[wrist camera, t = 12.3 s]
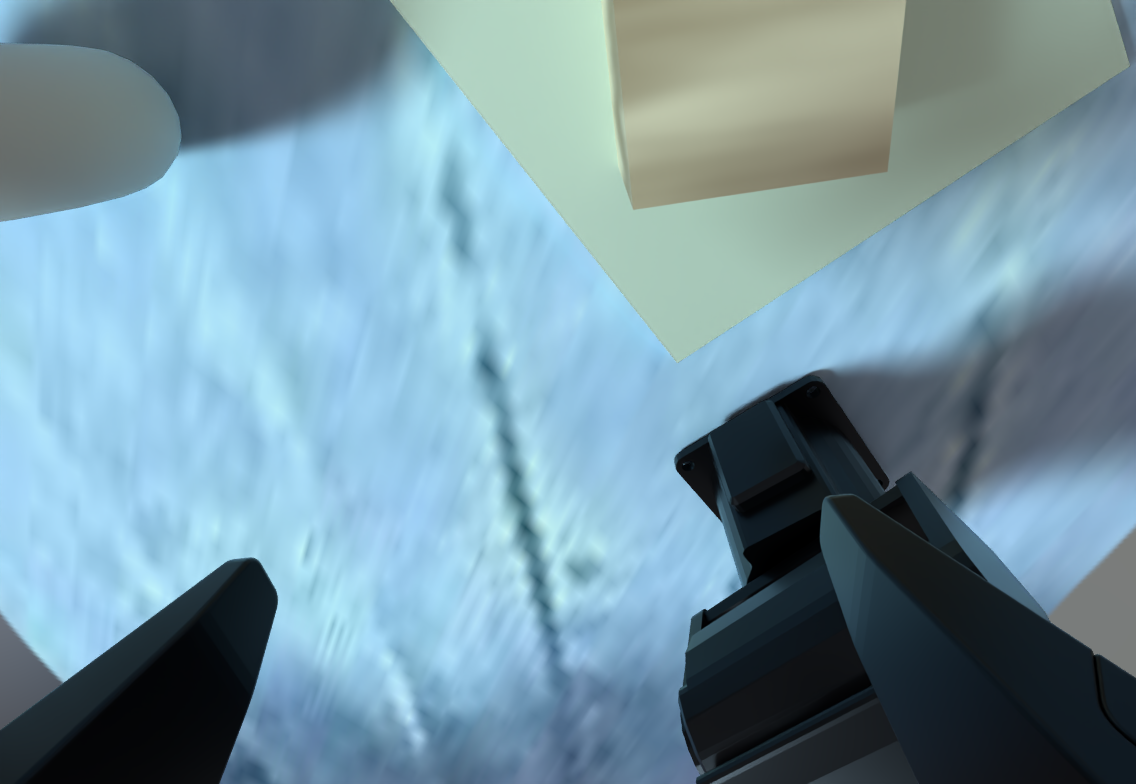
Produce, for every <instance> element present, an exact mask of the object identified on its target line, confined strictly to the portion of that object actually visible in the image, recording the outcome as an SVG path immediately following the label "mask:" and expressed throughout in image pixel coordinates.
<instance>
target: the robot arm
mask: <svg viewBox="0 0 1136 784" xmlns="http://www.w3.org/2000/svg"><path fill="white" fill-rule="evenodd" d="M811 387H816V390H814V391H813V392H811V393H807V390H808V389H809V388H811ZM686 461H692V463H691V464H689V465H683V463H684V462H686ZM674 463H675V467H676V470H677V472H678V473H679V474H680V475H681V476H682V477H683V479H684V480H685V481H686V482H687V483H688V484H689V485H690V487H691V488H692V489H693V490H694V491H695V492H696V493H697V495H698V496H699V497H700V498H701V499H702V500H703V501H704V502H705V504H706V505H707V506H708V507H709V508H710V509H711V510H712V512H713V513H714V514H715V515H716V516H717V517H718V518H719V520H720V521H721V522H722V523H723V526H724V529H725V532H726V536H727V539H728V542H729V545H730V549H731V552H732V555H733V558H734V562H735V565H736V568H737V571H738V575H739V578H740V581H741V585H742V588H741V589H739V590H738V591H736V592H735V593H733V594H732V595H730V596H729V597H727V598H726V599H724V600H723V601H721V602H720V603H718V604H717V605H715V606H714V607H712V608H711V609H709V610H708V611H707V610H706V609H703V610H702V611H700V612H699V613H697V614H696V615H694V616H693V617H692V618H691V626H690V634H689V642H688V648H687V650H686V653H685V655H686V665H685V673H684V681H683V687H681V688H680V690H679V698H678V703H679V707H680V711H681V713H680V717H681V723H682V732H683V735H684V737H685V740H686V744H687V747H688V750H689V752H690V755H691V757H692V759H693V762H694V764H695V766H696V768H697V770H698V772H699V774H700V776H698V777H697V779H696V784H1136V678H1135V677H1134V676H1132V675H1131V674H1129V673H1127V672H1126V671H1124V670H1123V669H1121V668H1120V667H1118V666H1117V665H1115V664H1114V663H1112V662H1111V661H1109V660H1108V659H1106V658H1105V657H1103V656H1102V655H1098V654H1096V655H1094V654H1093V651H1092V650H1091V649H1090V648H1089V647H1087V646H1086V645H1084V644H1083V643H1081V642H1080V641H1078V640H1077V639H1075V638H1073V637H1072V636H1071V635H1069V634H1068V633H1066V632H1064V631H1063V630H1061V629H1060V628H1058V627H1056V626H1055V625H1054V624H1052V623H1051V622H1050V620H1049V618H1048V616H1047V615H1046V613H1045V611H1044V610H1043V609H1042V607H1041V606H1040V605H1039V604H1038V603H1037V602H1036V600H1035V599H1034V598H1033V597H1032V596H1031V595H1030V593H1029V592H1028V591H1027V590H1026V589H1025V588H1024V587H1023V585H1022V584H1021V583H1020V582H1019V581H1018V580H1017V578H1016V577H1015V576H1014V575H1013V574H1012V573H1011V572H1010V570H1009V569H1008V568H1007V567H1006V566H1005V565H1004V563H1003V562H1002V561H1001V560H1000V559H999V558H998V556H997V555H996V554H995V553H994V552H993V551H992V550H991V549H990V548H989V547H988V546H987V545H986V544H985V543H984V542H983V541H982V540H981V539H980V538H979V537H978V536H977V535H976V534H975V533H974V532H973V531H972V530H971V529H970V528H969V527H968V526H967V525H966V524H965V523H964V522H963V521H962V520H961V519H960V518H958V517H957V516H956V515H955V514H954V513H953V512H952V511H951V510H950V509H949V508H948V507H947V506H946V505H945V504H944V503H943V502H942V501H941V500H940V499H939V498H938V497H937V496H936V495H935V494H934V493H933V492H932V491H931V490H930V489H929V488H928V487H927V486H926V485H924V484H923V483H922V482H921V481H920V480H919V479H918V478H917V477H916V476H915V475H914V474H913V473H912V472H909V473H908V474H906V475H905V476H903V477H902V478H900V479H899V480H897V481H896V482H895V483H896V486H895V487H893V488H892V489H890V490H889V491H887V492H885V491H884V490H885V489H886V488H887V487H888V485H889V479H888V477H887V476H886V474H885V473H884V471H883V470H882V468H881V467H880V465H879V464H878V462H877V461H876V459H875V458H874V456H873V455H872V453H871V452H870V451H869V449H868V448H867V446H866V445H865V443H864V442H863V440H862V439H861V437H860V436H859V434H858V433H857V431H856V430H855V428H854V427H853V425H852V424H851V422H850V421H849V419H848V418H847V416H846V415H845V413H844V412H843V410H842V409H841V407H840V406H839V404H838V403H837V401H836V400H835V398H834V397H833V395H832V394H831V392H830V391H829V389H828V388H827V386H826V385H825V384H824V382H823V381H822V380H821V379H820V378H819V377H817V376H807V377H805V378H803V379H801V380H799V381H798V382H796V383H794V384H793V385H791V386H789V387H788V388H786V389H784V390H783V391H781V392H779V393H778V394H776V395H774V396H773V397H771V398H769V399H768V400H766V401H762V402H760V403H759V404H757V405H755V406H754V407H752V408H750V409H749V410H747V411H745V412H744V413H742V414H740V415H739V416H737V417H735V418H734V419H732V420H730V421H729V422H727V423H725V424H724V425H722V426H720V427H719V428H717V429H715V430H714V431H712V432H711V433H710V434H709V435H707V436H706V437H704V438H702V439H701V440H699V441H697V442H696V443H694V444H692V445H691V446H689V447H687V448H686V449H684V450H682V451H681V452H679V453H678V454H677V455H676V457H675V459H674ZM877 479H878V480H877ZM277 605H278V596H277V592H276V589H275V587H274V586H273V584H272V582H271V580H270V579H269V577H268V575H267V573H266V572H265V570H264V568H263V566H262V565H261V563H260V562H259V561H258V560H257V559H255V558H241V559H233V560H229V561H227V562H226V563H224V564H223V565H221V566H220V567H219V568H217V569H216V570H215V571H213V572H212V573H211V574H209V575H208V576H207V577H205V578H204V579H203V580H201V581H200V582H199V583H197V584H196V585H195V586H193V587H192V588H190V589H189V590H188V591H186V592H185V593H184V594H182V595H181V596H180V597H178V598H177V599H176V600H174V601H173V602H172V603H170V604H169V605H168V606H166V607H165V608H164V609H162V610H161V611H160V612H158V613H157V614H156V615H154V616H153V617H152V618H150V619H149V620H147V621H146V622H145V623H143V624H142V625H141V626H139V627H138V628H137V629H135V630H134V631H133V632H131V633H130V634H129V635H127V636H126V637H125V638H123V639H122V640H121V641H119V642H118V643H117V644H115V645H114V646H113V647H111V648H110V649H108V650H107V651H106V652H104V653H103V654H102V655H100V656H99V657H98V658H96V659H95V660H94V661H92V662H91V663H90V664H88V665H87V666H86V667H84V668H83V669H82V670H80V671H79V672H78V673H76V674H75V675H74V676H72V677H71V678H69V679H68V680H67V681H65V682H64V683H63V684H61V685H60V686H59V687H57V688H56V689H55V690H53V691H52V692H51V693H49V694H48V695H47V696H45V697H44V698H43V699H41V700H40V701H39V702H37V703H36V704H35V705H33V706H32V707H31V708H29V709H28V710H26V711H25V712H24V713H22V714H21V715H20V716H18V717H17V718H16V719H14V720H13V721H12V722H10V723H9V724H8V725H6V726H5V727H4V728H2V729H1V730H0V784H219V783H220V781H221V778H222V775H223V773H224V770H225V768H226V765H227V762H228V760H229V757H230V755H231V752H232V749H233V747H234V744H235V741H236V739H237V736H238V734H239V731H240V728H241V726H242V723H243V721H244V718H245V715H246V713H247V710H248V707H249V704H250V701H251V699H252V695H253V692H254V689H255V686H256V682H257V679H258V675H259V671H260V668H261V664H262V661H263V657H264V653H265V650H266V646H267V642H268V639H269V635H270V631H271V628H272V624H273V621H274V617H275V613H276V610H277Z"/></svg>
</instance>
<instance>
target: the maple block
mask: <svg viewBox="0 0 1136 784" xmlns="http://www.w3.org/2000/svg"><path fill="white" fill-rule="evenodd" d="M601 5H602V15H603V24H604V34H605V44H606V53H607V63H608V72H609V82H610V92H611V101H612V111H613V121H614V130H615V140H616V150H617V159H618V168H619V170H620V173H621V176H622V179H623V182H624V185H625V188H626V191H627V194H628V197H629V199H630V202H631V205H632V208H633V210H636V209H643V208H650V207H656V206H663V205H670V204H676V203H683V202H690V201H696V200H703V199H710V198H716V197H723V196H730V195H736V194H743V193H750V192H757V191H763V190H770V189H777V188H783V187H790V186H797V185H803V184H810V183H817V182H823V181H830V180H837V179H843V178H850V177H857V176H863V175H870V174H877V173H883V172H888V163H889V154H890V145H891V136H892V126H893V117H894V108H895V99H896V90H897V81H898V72H899V63H900V53H901V44H902V35H903V26H904V17H905V8H906V0H601Z"/></svg>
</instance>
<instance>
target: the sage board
mask: <svg viewBox="0 0 1136 784" xmlns="http://www.w3.org/2000/svg"><path fill="white" fill-rule="evenodd" d="M390 1H391V3H392V4H393V5H394V7H395V8H396V9H397V10H398V12H399V13H400V14H401V15H402V17H403V18H404V19H405V20H406V22H407V23H408V24H409V25H410V27H411V28H412V29H413V30H414V32H415V33H416V34H417V36H418V37H419V38H420V39H421V41H422V42H423V43H424V44H425V46H426V47H427V48H428V49H429V51H430V52H431V53H432V54H433V56H434V57H435V58H436V60H437V61H438V62H439V63H440V65H441V66H442V67H443V68H444V70H445V71H446V72H447V73H448V75H449V76H450V77H451V78H452V80H453V81H454V82H455V83H456V85H457V86H458V87H459V89H460V90H461V91H462V92H463V94H464V95H465V96H466V97H467V99H468V100H469V101H470V102H471V104H472V105H473V106H474V107H475V109H476V110H477V111H478V112H479V114H480V115H481V116H482V118H483V119H484V120H485V121H486V123H487V124H488V125H489V126H490V128H491V129H492V130H493V131H494V133H495V134H496V135H497V136H498V138H499V139H500V140H501V141H502V143H503V144H504V145H505V147H506V148H507V149H508V150H509V152H510V153H511V154H512V155H513V157H514V158H515V159H516V160H517V162H518V163H519V164H520V165H521V167H522V168H523V169H524V170H525V172H526V173H527V174H528V176H529V177H530V178H531V179H532V181H533V182H534V183H535V184H536V186H537V187H538V188H539V189H540V191H541V192H542V193H543V194H544V196H545V197H546V198H547V199H548V201H549V202H550V203H551V205H552V206H553V207H554V208H555V210H556V211H557V212H558V213H559V215H560V216H561V217H562V218H563V220H564V221H565V222H566V223H567V225H568V226H569V227H570V229H571V230H572V231H573V232H574V234H575V235H576V236H577V237H578V239H579V240H580V241H581V242H582V244H583V245H584V246H585V247H586V249H587V250H588V251H589V252H590V254H591V255H592V256H593V258H594V259H595V260H596V261H597V263H598V264H599V265H600V266H601V268H602V269H603V270H604V271H605V273H606V274H607V275H608V276H609V278H610V279H611V280H612V281H613V283H614V284H615V285H616V287H617V288H618V289H619V290H620V292H621V293H622V294H623V295H624V297H625V298H626V299H627V300H628V302H629V303H630V304H631V305H632V307H633V308H634V309H635V310H636V312H637V313H638V314H639V316H640V317H641V318H642V319H643V321H644V322H645V323H646V324H647V326H648V327H649V328H650V329H651V331H652V332H653V333H654V334H655V336H656V337H657V338H658V339H659V341H660V342H661V343H662V345H663V346H664V347H665V348H666V350H667V351H668V352H669V353H670V355H671V356H672V357H673V358H674V360H675V361H676V362H677V363H678V362H680V361H681V360H683V359H685V358H686V357H688V356H689V355H691V354H692V353H694V352H695V351H697V350H698V349H700V348H701V347H703V346H704V345H706V344H707V343H709V342H710V341H712V340H713V339H715V338H717V337H718V336H720V335H721V334H723V333H724V332H726V331H727V330H729V329H730V328H732V327H733V326H735V325H736V324H738V323H739V322H741V321H742V320H744V319H745V318H747V317H749V316H750V315H752V314H753V313H755V312H756V311H758V310H759V309H761V308H762V307H764V306H765V305H767V304H768V303H770V302H771V301H773V300H774V299H776V298H777V297H779V296H781V295H782V294H784V293H785V292H787V291H788V290H790V289H791V288H793V287H794V286H796V285H797V284H799V283H800V282H802V281H803V280H805V279H806V278H808V277H809V276H811V275H813V274H814V273H816V272H817V271H819V270H820V269H822V268H823V267H825V266H826V265H828V264H829V263H831V262H832V261H834V260H835V259H837V258H838V257H840V256H841V255H843V254H845V253H846V252H848V251H849V250H851V249H852V248H854V247H855V246H857V245H858V244H860V243H861V242H863V241H864V240H866V239H867V238H869V237H870V236H872V235H873V234H875V233H877V232H878V231H880V230H881V229H883V228H884V227H886V226H887V225H889V224H890V223H892V222H893V221H895V220H896V219H898V218H899V217H901V216H902V215H904V214H905V213H907V212H909V211H910V210H912V209H913V208H915V207H916V206H918V205H919V204H921V203H922V202H924V201H925V200H927V199H928V198H930V197H931V196H933V195H934V194H936V193H937V192H939V191H941V190H942V189H944V188H945V187H947V186H948V185H950V184H951V183H953V182H954V181H956V180H957V179H959V178H960V177H962V176H963V175H965V174H966V173H968V172H969V171H971V170H973V169H974V168H976V167H977V166H979V165H980V164H982V163H983V162H985V161H986V160H988V159H989V158H991V157H992V156H994V155H995V154H997V153H998V152H1000V151H1001V150H1003V149H1005V148H1006V147H1008V146H1009V145H1011V144H1012V143H1014V142H1015V141H1017V140H1018V139H1020V138H1021V137H1023V136H1024V135H1026V134H1027V133H1029V132H1030V131H1032V130H1033V129H1035V128H1037V127H1038V126H1040V125H1041V124H1043V123H1044V122H1046V121H1047V120H1049V119H1050V118H1052V117H1053V116H1055V115H1056V114H1058V113H1059V112H1061V111H1062V110H1064V109H1066V108H1067V107H1069V106H1070V105H1072V104H1073V103H1075V102H1076V101H1078V100H1079V99H1081V98H1082V97H1084V96H1085V95H1087V94H1088V93H1090V92H1091V91H1093V90H1094V89H1096V88H1098V87H1099V86H1101V85H1102V84H1104V83H1105V82H1107V81H1108V80H1110V79H1111V78H1113V77H1114V76H1116V75H1117V74H1119V73H1120V72H1122V71H1123V70H1125V69H1126V68H1128V67H1130V64H1129V61H1128V57H1127V54H1126V50H1125V47H1124V44H1123V40H1122V37H1121V33H1120V30H1119V27H1118V23H1117V20H1116V17H1115V13H1114V10H1113V6H1112V3H1111V0H906V8H905V17H904V26H903V35H902V44H901V53H900V63H899V72H898V81H897V90H896V99H895V108H894V117H893V126H892V136H891V145H890V154H889V163H888V172H883V173H877V174H870V175H863V176H857V177H850V178H843V179H837V180H830V181H823V182H817V183H810V184H803V185H797V186H790V187H783V188H777V189H770V190H763V191H757V192H750V193H743V194H736V195H730V196H723V197H716V198H710V199H703V200H696V201H690V202H683V203H676V204H670V205H663V206H656V207H650V208H643V209H636V210H633V208H632V205H631V202H630V199H629V197H628V194H627V191H626V188H625V185H624V182H623V179H622V176H621V173H620V170H619V168H618V159H617V150H616V140H615V130H614V121H613V111H612V101H611V92H610V82H609V72H608V63H607V53H606V44H605V34H604V24H603V15H602V5H601V0H390Z"/></svg>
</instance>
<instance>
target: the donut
mask: <svg viewBox="0 0 1136 784" xmlns="http://www.w3.org/2000/svg"><path fill="white" fill-rule="evenodd" d="M181 137H182V135H181V128H180V121H179V115H178V113H177V111H176V109H175V107H174V105H173V103H172V101H171V99H170V97H169V95H168V94H167V93H166V91H165V90H164V89H163V88H162V87H161V86H160V84H159V83H158V82H157V81H156V80H155V79H154V77H153V76H152V75H150V74H149V73H147V72H146V71H145V70H143V69H142V68H140V67H139V66H138V65H136V64H135V63H133V62H132V61H131V60H128V59H126V58H123V57H121V56H118V55H116V54H113V53H111V52H108V51H106V50H101V49H95V48H87V47H79V46H72V45H54V44H21V43H0V222H2V221H9V220H15V219H21V218H26V217H31V216H37V215H42V214H48V213H53V212H58V211H64V210H69V209H74V208H80V207H84V206H88V205H92V204H96V203H100V202H104V201H108V200H112V199H116V198H120V197H124V196H126V195H129V194H132V193H134V192H137V191H140V190H142V189H145V188H147V187H148V186H150V185H151V184H153V183H155V182H156V181H158V180H159V179H161V178H162V177H163V176H164V175H165V173H166V172H167V170H168V169H169V167H170V166H171V164H172V163H173V161H174V160H175V158H176V157H177V155H178V152H179V147H180V142H181Z"/></svg>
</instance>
